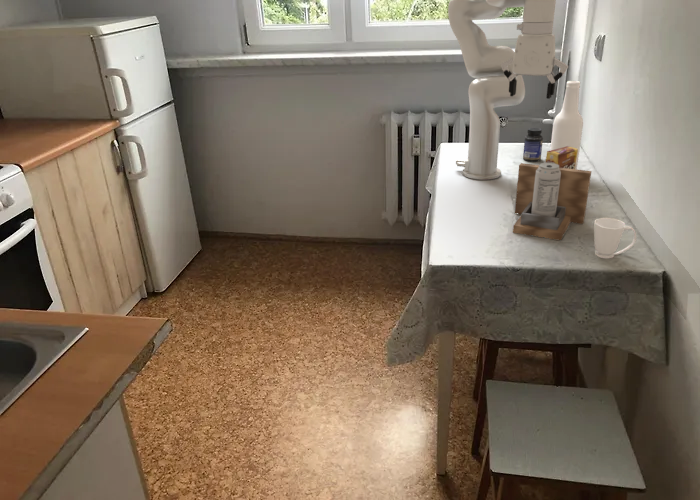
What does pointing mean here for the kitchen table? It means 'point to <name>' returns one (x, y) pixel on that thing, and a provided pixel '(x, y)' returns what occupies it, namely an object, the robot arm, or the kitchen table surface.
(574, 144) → the alcohol
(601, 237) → the cup
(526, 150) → the pill bottle
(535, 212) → the energy drink can
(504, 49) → the robot arm
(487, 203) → the kitchen table surface
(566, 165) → the candy box
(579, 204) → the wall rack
